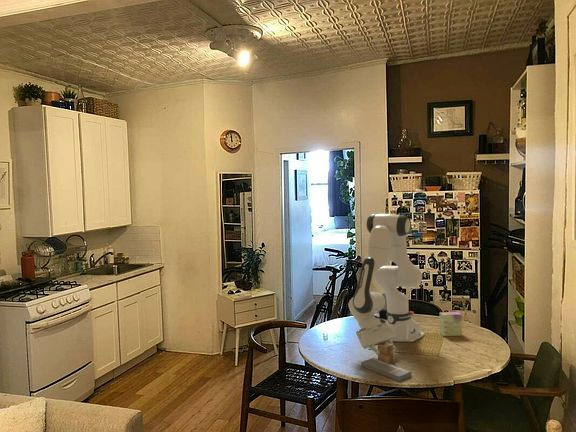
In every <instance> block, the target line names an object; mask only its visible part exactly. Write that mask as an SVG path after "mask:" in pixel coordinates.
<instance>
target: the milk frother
mask: <svg viewBox="0 0 576 432" xmlns="http://www.w3.org/2000/svg"><path fill="white" fill-rule="evenodd" d="M381 294H382V295H383V296H384V298H385V307H384V308H383V309H382V310H381V311H379V312H378V315H379V316H377V315H375V314H374V316H375V318H378V319H385V320H386V321H387V298H386V295H385V293H381Z"/></svg>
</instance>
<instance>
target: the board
mask: <svg viewBox="0 0 576 432" xmlns="http://www.w3.org/2000/svg"><path fill="white" fill-rule="evenodd" d="M360 367H362V368H364V369H368V370H369V371H371V372H375V373H378V374H379V375H383V376H384V377H387V378H390V379H392V380H395V381H397V382H401V381H403V380H406V379H408V378H410V377H412V371H410V370H408V369H405V368H403V367H400V366H398V365H394V364H392V363H386V362H383V361H381V360H378V358H376V357H371V358H369V359H365V360H362V361H360Z"/></svg>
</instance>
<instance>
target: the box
mask: <svg viewBox="0 0 576 432" xmlns="http://www.w3.org/2000/svg"><path fill="white" fill-rule="evenodd" d="M438 316H439V319H438V320H439V334H440V335H441V336H443V337H453V336H454V337H458V336H459V337H461V336H462V335H463V323H462V322H463V321H462V319H463V316H462V313H460V311H448V312H447V311H446V312H439V315H438Z"/></svg>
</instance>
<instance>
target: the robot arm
mask: <svg viewBox="0 0 576 432" xmlns="http://www.w3.org/2000/svg"><path fill="white" fill-rule="evenodd" d="M365 224H366V229H367V231H368V233H369V238H368V243H367V251H366V256H365V257H364V260H363V262H362V264H361V269H360V273H359V276H358V277H359V278H358V283H357V287H356V291H355V293H354V295H353V296H352V297H351V298H350V299H349V302H348V303H347V305H348V308H349V311H350V313H351V315H352V316H353V318H354V320H356V321H357V325H358V326H359V328H360V329H357V330H356V333H355V335H356V337H357V339H358V341H359V343H360V345H361V347H362V348H363V349H364V350H367V349H369V348H370V350H371V351H373V352H374V353H375V354H376V356H378V355H379V354H380V353H381V352H380V350H378V348H377V347H378V344H380V343H384V342H386V343H390V344H393V351H394V350H395V346H394V342H407V343H408V342H410V343H411V342H414V341H416V340H419V339H420V338H422V337H424V336H425V332H423V331H421V327H420V324H419V323H418V322H416V321H415V320H414V319H413V318H412V316H414V314H415V312H414V311H412V310H410V311H409V298H408V296H407V295H406V293H403V292H401V291H399V290H398V288H397V287H401V288H402V287H404V288H405V287H406V288H410V287H411V288H412V287H417V286H419V285H420V284H421V283H422V281H423V272H422V271H421V269H420V268H419V267H417V266H416V265H415V264H414V263H413V262H412V261H411V259H410V258H409V255H408V249H407V248H408V247H407V237H406V235H408V233H409V232H410V229H411V220H410V218H409V217H408V216H407V215H404V214H398V213H397V214H395V213H372V214H370V215H369V216H368V217H367V219H366V223H365ZM389 261H390V262H392V263H394V264H395V265H387V264H388V263H389ZM373 281H374V282H375V284H376V285H377V286H378V287H380V289H382V291H383V292H384V293H381V292H379V291H371V289H372V283H373ZM382 294H385V295H386V298H387V320H385V319H378V318H375V316H376V315H375V314H377V313H379V311H381V310H382V309H383V308H384V307H385V298H384V296H383V295H382ZM374 315H375V316H374Z"/></svg>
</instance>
